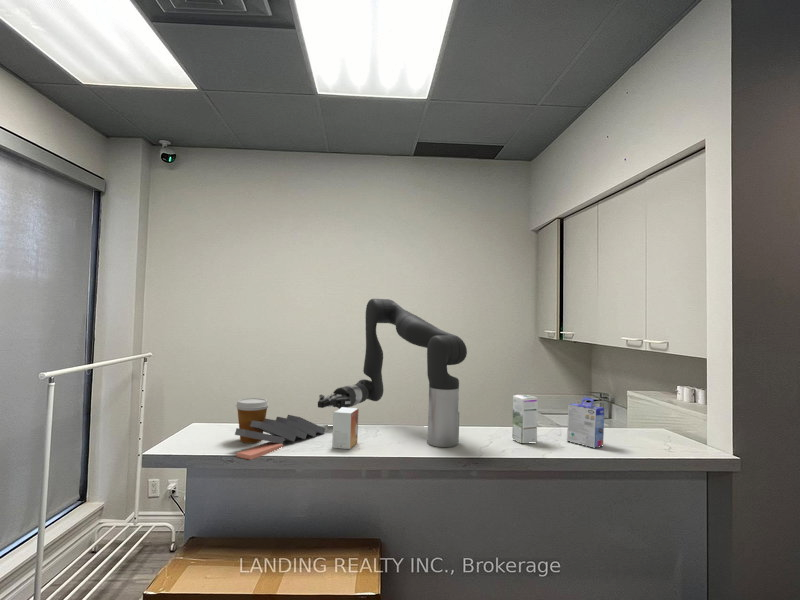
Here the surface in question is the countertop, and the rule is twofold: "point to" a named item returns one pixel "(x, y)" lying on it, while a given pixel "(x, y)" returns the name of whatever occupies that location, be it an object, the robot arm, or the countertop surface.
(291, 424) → the domino
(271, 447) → the domino
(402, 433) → the countertop surface
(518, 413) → the syrup box
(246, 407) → the disposable coffee cup
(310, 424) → the domino
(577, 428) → the ink cartridge box
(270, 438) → the domino
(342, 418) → the small box
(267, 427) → the domino
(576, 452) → the countertop surface
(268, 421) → the domino
